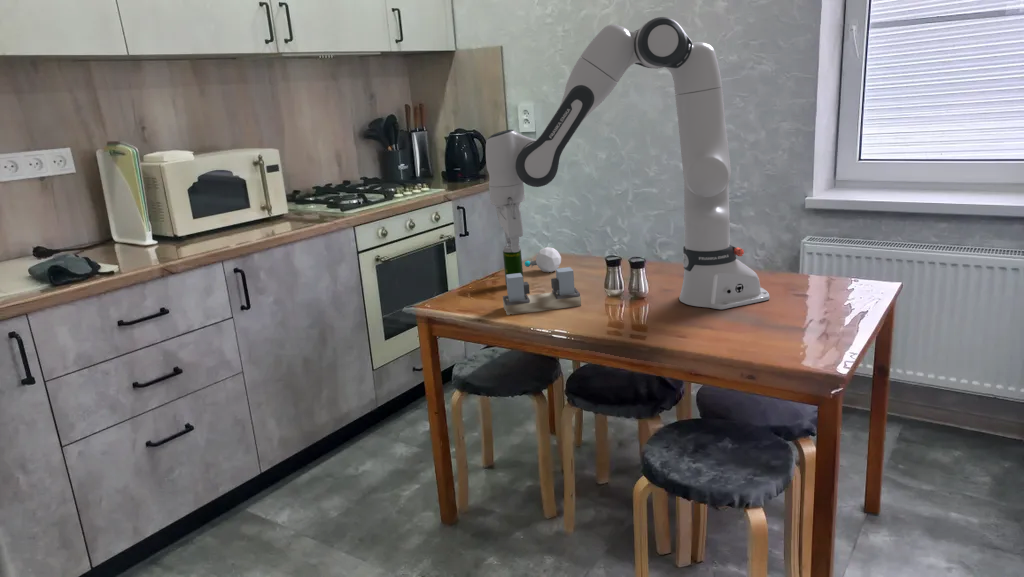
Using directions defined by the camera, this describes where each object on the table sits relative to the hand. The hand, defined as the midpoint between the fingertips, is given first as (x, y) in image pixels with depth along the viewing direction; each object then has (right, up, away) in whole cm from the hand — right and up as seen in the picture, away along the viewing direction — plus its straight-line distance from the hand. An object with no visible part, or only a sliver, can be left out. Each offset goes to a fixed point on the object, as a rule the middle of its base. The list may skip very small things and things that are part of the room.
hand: (512, 247), depth 183 cm
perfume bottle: (+10, -5, +40) cm, 41 cm away
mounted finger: (+14, -12, +6) cm, 20 cm away
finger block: (+1, -14, +4) cm, 15 cm away
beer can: (+1, -10, +27) cm, 29 cm away
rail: (+8, -15, +6) cm, 18 cm away
